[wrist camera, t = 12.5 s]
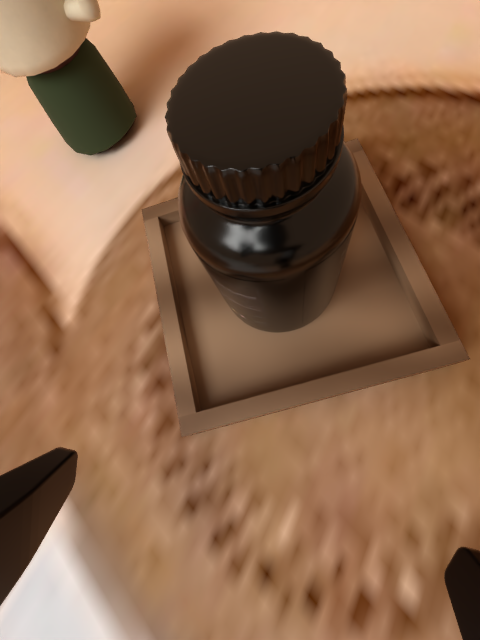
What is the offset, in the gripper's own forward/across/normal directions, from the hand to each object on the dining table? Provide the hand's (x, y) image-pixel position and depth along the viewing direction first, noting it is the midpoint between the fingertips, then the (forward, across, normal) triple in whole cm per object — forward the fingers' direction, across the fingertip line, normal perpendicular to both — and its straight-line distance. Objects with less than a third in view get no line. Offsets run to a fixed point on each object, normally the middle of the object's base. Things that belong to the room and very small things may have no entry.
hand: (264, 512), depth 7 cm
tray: (+14, 0, -3) cm, 14 cm away
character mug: (+23, +16, -11) cm, 31 cm away
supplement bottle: (+14, 0, -3) cm, 14 cm away
